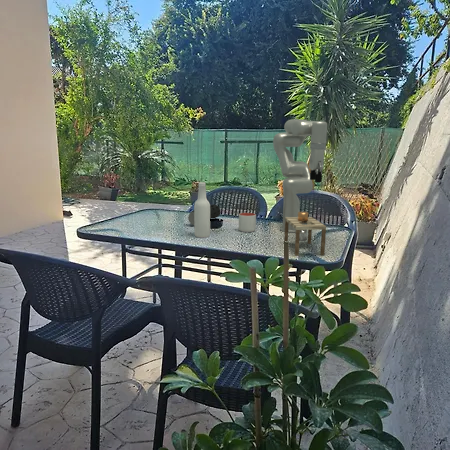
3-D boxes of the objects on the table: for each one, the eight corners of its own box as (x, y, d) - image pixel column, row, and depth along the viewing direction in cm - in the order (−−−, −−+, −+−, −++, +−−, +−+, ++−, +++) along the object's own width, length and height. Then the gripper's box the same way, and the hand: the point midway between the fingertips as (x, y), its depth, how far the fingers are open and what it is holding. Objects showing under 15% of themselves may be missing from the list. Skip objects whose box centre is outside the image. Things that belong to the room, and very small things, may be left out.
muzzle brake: (221, 219, 268) (221, 204, 265) (200, 228, 243) (200, 211, 241) (208, 218, 272) (208, 203, 269) (187, 226, 247) (186, 210, 245)
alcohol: (212, 237, 220) (212, 183, 214) (197, 238, 218) (196, 183, 211) (207, 233, 229) (207, 181, 222) (192, 234, 226) (192, 182, 219)
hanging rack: (284, 243, 209) (285, 217, 206) (310, 243, 210) (311, 216, 207) (295, 255, 187) (296, 226, 184) (324, 255, 189) (326, 226, 186)
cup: (244, 228, 243) (244, 212, 241) (258, 230, 237) (259, 214, 235) (235, 231, 235) (235, 214, 233) (249, 233, 230) (250, 216, 227)
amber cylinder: (295, 238, 203) (296, 211, 200) (305, 238, 203) (306, 211, 200) (298, 241, 198) (299, 213, 195) (308, 240, 199) (309, 213, 196)
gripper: (306, 145, 208) (304, 178, 212) (315, 147, 191) (312, 183, 195) (320, 146, 208) (318, 178, 212) (330, 148, 191) (327, 183, 196)
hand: (315, 180), depth 204 cm, fingers open, 9 cm apart
